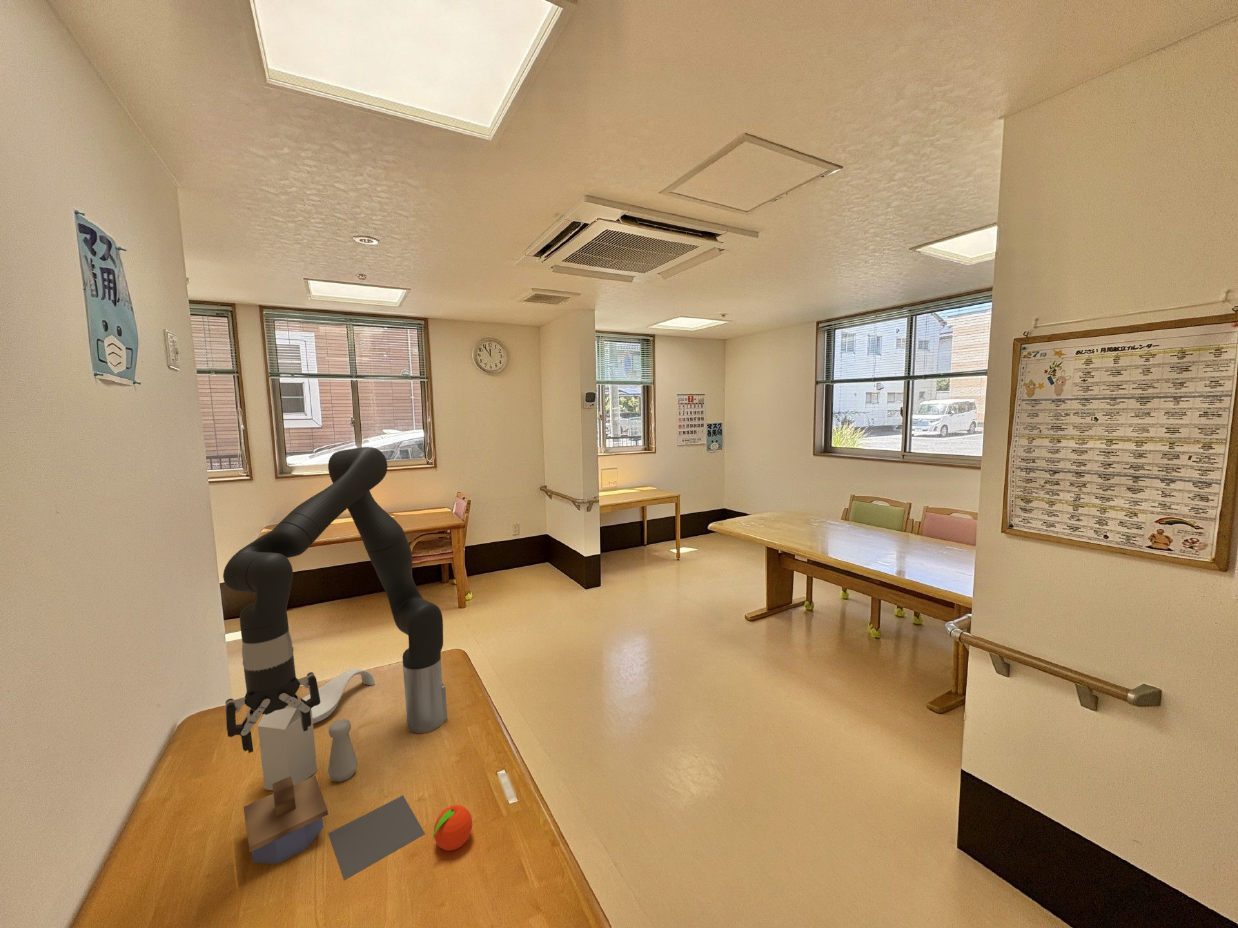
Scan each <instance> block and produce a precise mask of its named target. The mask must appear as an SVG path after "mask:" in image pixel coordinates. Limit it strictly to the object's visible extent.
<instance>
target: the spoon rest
mask: <svg viewBox="0 0 1238 928" xmlns="http://www.w3.org/2000/svg"><path fill="white" fill-rule="evenodd" d="M357 675H360V676H361V682H362V684H364V685H366V686H367V685H368V686H374V685H376V682H375V679H374V676H373V675H372V673H370V671H368V670H365V669H364V670H363V669H360V668H352V669H351V668H350V669H348V670H346V671H343V672H342V673H340V674H339V675H337V676H336V677H334V678H333V679H331V680H330V681H328V682H327V683H325V684H323V685H322V686H320V687H318V691H319V696H320V704H319V705H317V706H314V707H312V708H311V710H312V718H313V725H315V724H316V723H319V722H321V721H324V720H326V719H327V718H328V717H329V716H330V715H331V714H333V712H334V711H335V710H336V708H337V707H338V705H339V702H340V701H341V698H342V696H343V695H344V691H345V690H346V686H347V685H348V684H349V682H350V681H351V679H352V678H353V677H354V676H357ZM301 698H302V699H304V700H305V701H307V700H308V699H310V698H311V696H310V693H309V694H307V695H305V696H303V697H301Z"/></svg>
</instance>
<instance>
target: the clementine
mask: <svg viewBox="0 0 1238 928" xmlns="http://www.w3.org/2000/svg"><path fill="white" fill-rule="evenodd" d="M472 829H473V817H472V815H471V813H470V811H469V809H467V808H466V806H465V807H464V806H463V805H461V804H455V805H450V806H448V807H446V808H444V809H443V810H442V811H441V813H440V814H439V815H438V817H437V819H436V821H435V823H434V827H433V836H432V841H435V843H436V844H437V846H438V848H440V849H443V850H444V851H448V852H450V851H452V852H453V851H455V850H458V849H460V848H461V847H463V846H464V845H465V843H466V842H467V841H468V840H469V838H470V835H471V833H472Z"/></svg>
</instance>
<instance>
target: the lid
mask: <svg viewBox="0 0 1238 928" xmlns="http://www.w3.org/2000/svg"><path fill="white" fill-rule="evenodd" d="M272 786H273V791H272V793H271V794H269V795H267V796H265V797H263V798H260V799H258V800H256V801H253V802H251V803H248V804H246V805H244V806H243V811H244V820H245V828H246V834H247V836H246V837H247V843H248V849H249V851H248V852H249V853H252V851H254V850H256V849H258V848H260V847H262V846H264V845H266V844H268V843H271V842H273V841H275V840H277V839H279V838H281V837H283V836H285V835H287V834H289V833H291V832H293V831H295V830H297V829H300V828H302V827H304V826H306V825H308V824H310V823H312V822H314V821H316V820H318V819H320V818H322V817H323V818H325V817H326V816H328V815H329V813H328V810H329V809H328V807H327V804H326V801H325V799H324V795H323V793H322V789H321V787H320V785H319V782H318V779H317V776H316V775H314V776H310V777H309V778H308V779H306V780H304V781H302V782H299V783H297V784H295V785H293V781H292V778H291V776H290V777H287V778H285V779H283V780H280V781H278V782H275V783H273V784H272Z"/></svg>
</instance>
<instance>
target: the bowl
mask: <svg viewBox="0 0 1238 928" xmlns="http://www.w3.org/2000/svg"><path fill="white" fill-rule="evenodd" d="M323 821H324V817H322V818H320V819H318V820H316V821H314V822H312V823H310V824H308V825H306V826H304V827H302V828H300V829H297V830H295V831H293V832H291V833H289V834H287V835H285V836H283V837H281V838H279V839H277V840H275V841H273V842H271V843H268V844H266V845H264V846H262V847H260V848H258V849H256V850H254V851H252V852H251V859H252V863H253V864H271V865H273V864H276V865H278V864H280V863H281V862H284V861H285V860H287V859H289V858H291V857H293V856H295V855H297V854H298V853H301V852H303V851H305V850H307V849H308V848H309V846H311V844H312V843H313V841H315V839H316V838H317V837H318V835H319V834H320V833H321V831H322V830H323V829H324V822H323Z"/></svg>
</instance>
